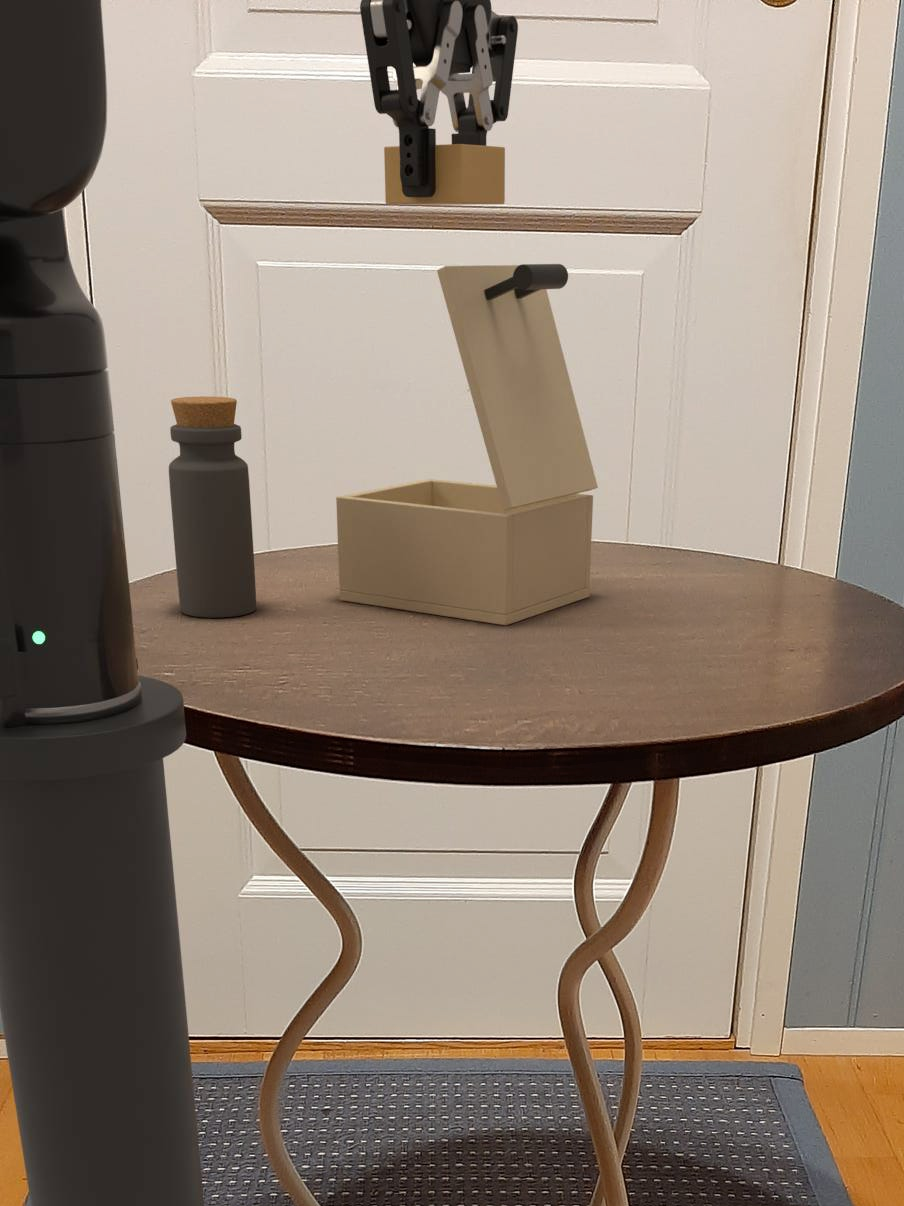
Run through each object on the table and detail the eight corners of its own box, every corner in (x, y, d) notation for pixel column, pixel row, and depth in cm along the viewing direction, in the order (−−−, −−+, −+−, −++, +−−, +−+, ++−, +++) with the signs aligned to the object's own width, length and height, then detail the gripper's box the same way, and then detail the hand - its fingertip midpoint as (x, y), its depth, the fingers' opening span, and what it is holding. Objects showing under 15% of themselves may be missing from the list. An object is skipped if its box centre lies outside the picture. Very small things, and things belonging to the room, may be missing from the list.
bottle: (271, 607, 118) (260, 398, 111) (227, 621, 113) (212, 404, 106) (210, 599, 120) (195, 394, 113) (164, 613, 115) (145, 400, 108)
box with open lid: (339, 600, 120) (335, 496, 116) (430, 575, 129) (429, 478, 126) (505, 625, 113) (507, 516, 109) (589, 597, 122) (593, 495, 118)
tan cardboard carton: (385, 204, 98) (383, 146, 96) (430, 204, 102) (429, 149, 100) (461, 203, 95) (461, 143, 93) (505, 204, 99) (505, 147, 97)
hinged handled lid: (436, 270, 105) (493, 242, 101) (531, 268, 114) (586, 242, 111) (503, 511, 109) (560, 491, 106) (589, 490, 118) (644, 471, 115)
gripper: (421, -160, 83) (427, 195, 91) (557, -117, 93) (552, 198, 102) (315, -143, 87) (329, 197, 95) (457, -104, 97) (459, 200, 105)
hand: (444, 196), depth 98 cm, fingers closed on tan cardboard carton, 5 cm apart
